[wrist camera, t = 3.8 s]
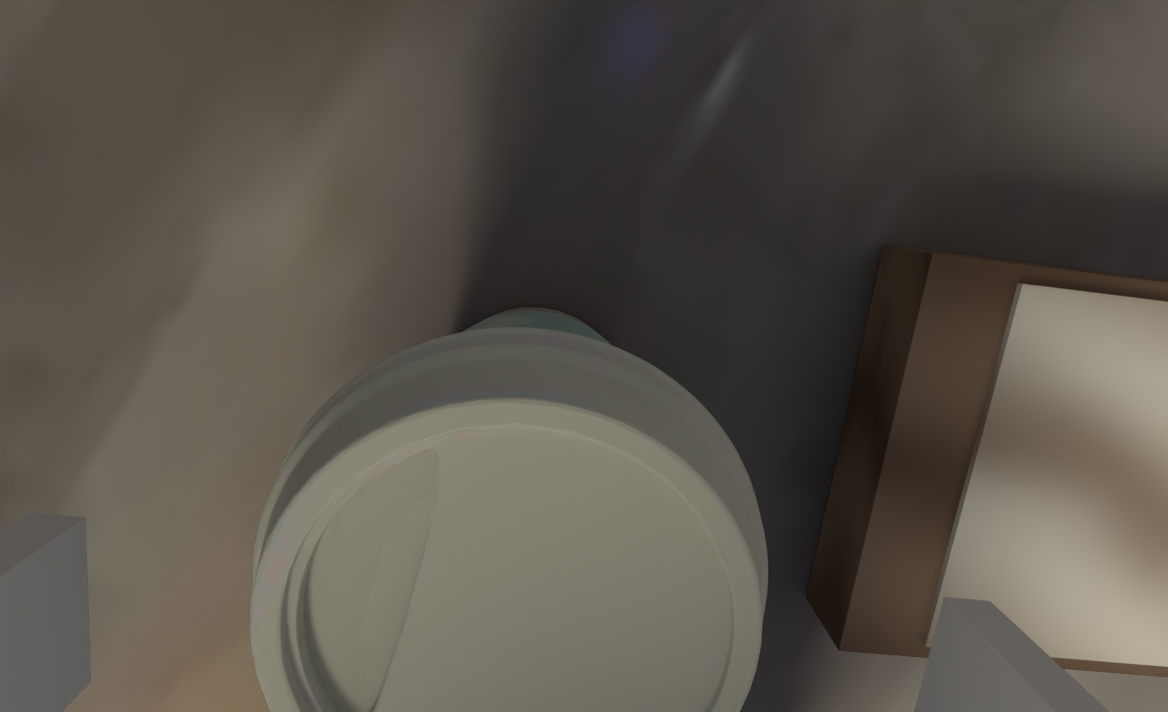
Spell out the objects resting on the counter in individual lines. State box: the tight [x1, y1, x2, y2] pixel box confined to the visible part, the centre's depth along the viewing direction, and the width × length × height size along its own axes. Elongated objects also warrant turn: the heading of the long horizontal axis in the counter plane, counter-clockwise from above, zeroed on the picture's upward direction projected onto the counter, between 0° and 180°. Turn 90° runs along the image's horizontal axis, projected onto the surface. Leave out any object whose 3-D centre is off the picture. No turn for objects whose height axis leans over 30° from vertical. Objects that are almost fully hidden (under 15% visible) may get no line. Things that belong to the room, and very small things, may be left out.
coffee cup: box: [250, 307, 768, 712], centre depth 16 cm, size 9×8×12 cm
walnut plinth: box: [806, 245, 1168, 677], centre depth 22 cm, size 12×16×3 cm
